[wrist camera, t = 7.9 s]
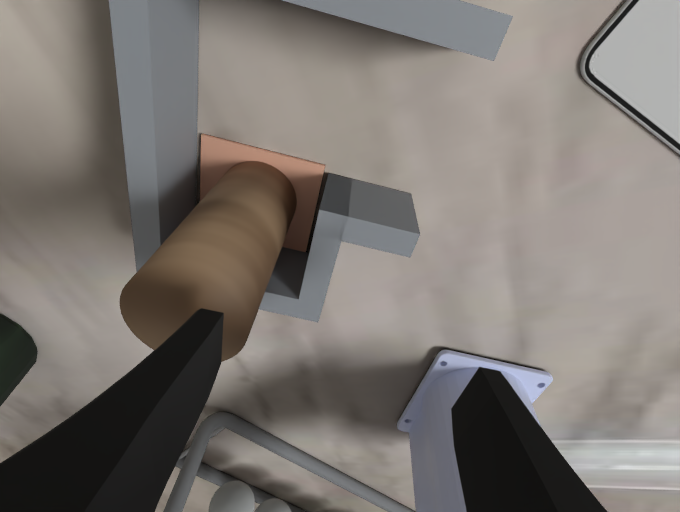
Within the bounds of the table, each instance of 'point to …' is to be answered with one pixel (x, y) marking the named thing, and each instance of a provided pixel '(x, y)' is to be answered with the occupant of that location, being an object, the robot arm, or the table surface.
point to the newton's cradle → (238, 497)
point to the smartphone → (640, 65)
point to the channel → (220, 154)
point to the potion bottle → (14, 355)
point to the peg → (215, 259)
